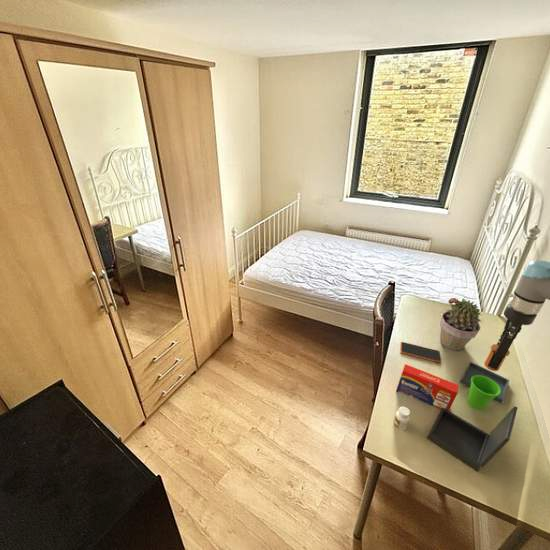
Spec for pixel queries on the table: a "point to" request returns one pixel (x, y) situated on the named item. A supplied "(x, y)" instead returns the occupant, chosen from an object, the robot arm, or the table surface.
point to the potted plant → (459, 324)
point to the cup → (482, 391)
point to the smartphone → (420, 352)
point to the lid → (499, 436)
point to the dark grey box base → (459, 438)
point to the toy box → (427, 387)
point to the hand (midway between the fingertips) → (493, 362)
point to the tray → (479, 370)
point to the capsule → (493, 347)
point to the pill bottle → (402, 418)
